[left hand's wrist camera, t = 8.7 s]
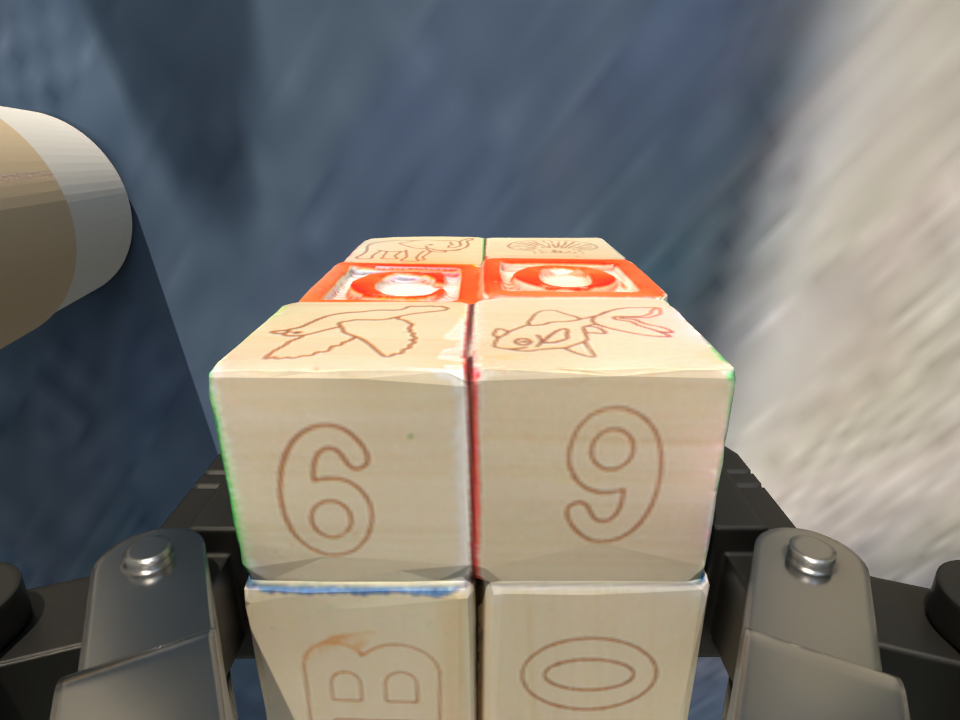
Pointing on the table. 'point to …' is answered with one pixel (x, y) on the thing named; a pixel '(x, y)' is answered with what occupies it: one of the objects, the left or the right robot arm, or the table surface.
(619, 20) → the table surface
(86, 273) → the coffee cup
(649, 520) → the stack of blocks
